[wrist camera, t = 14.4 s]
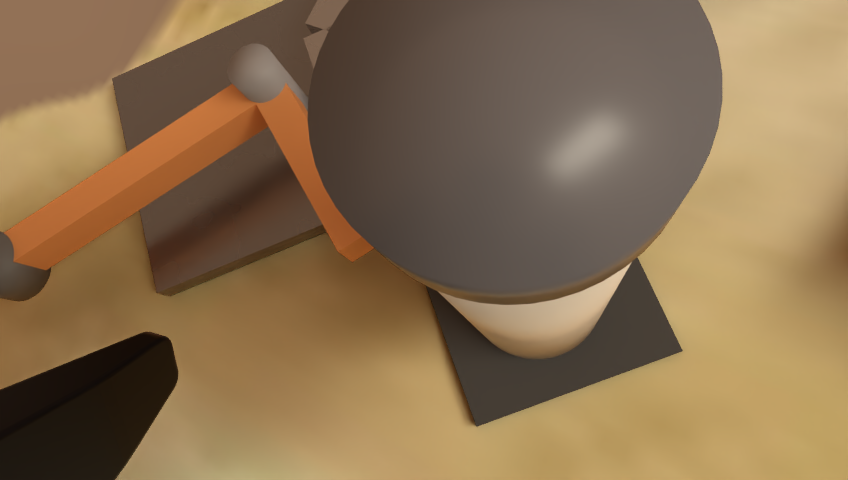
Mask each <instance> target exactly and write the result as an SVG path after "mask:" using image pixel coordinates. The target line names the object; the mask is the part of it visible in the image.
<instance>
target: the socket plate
mask: <svg viewBox="0 0 848 480" xmlns="http://www.w3.org/2000/svg"><path fill="white" fill-rule="evenodd" d="M348 1H349V0H284V1H282V2H279V3H277V4H275V5H273V6H271V7H268V8H266V9H264V10H262V11H260V12H257V13H255V14H253V15H251V16H249V17H246V18H244V19H242V20H240V21H238V22H235V23H233V24H231V25H229V26H227V27H224V28H222V29H220V30H218V31H216V32H214V33H211V34H209V35H207V36H205V37H203V38H200V39H198V40H196V41H194V42H192V43H189V44H187V45H185V46H183V47H181V48H178V49H176V50H174V51H172V52H170V53H167V54H165V55H163V56H161V57H159V58H156V59H154V60H152V61H150V62H148V63H145V64H143V65H141V66H139V67H137V68H134V69H132V70H130V71H128V72H126V73H123V74H121V75H119V76H117V77H115V78H112V80H113V85H114V90H115V95H116V99H117V104H118V109H119V114H120V119H121V123H122V128H123V133H124V138H125V143H126V147H127V152H128V151H130V150H132V149H133V148H135V147H136V146H138V145H139V144H141V143H142V142H144V141H145V140H147V139H148V138H150V137H151V136H153V135H155V134H156V133H158V132H159V131H161V130H162V129H164V128H165V127H167V126H168V125H170V124H171V123H173V122H174V121H176V120H178V119H179V118H181V117H182V116H184V115H185V114H187V113H188V112H190V111H191V110H193V109H194V108H196V107H197V106H199V105H201V104H202V103H204V102H205V101H207V100H208V99H210V98H211V97H213V96H214V95H216V94H217V93H219V92H220V91H222V90H224V89H225V88H227V87H228V86H230V85H231V84H232V83H231V81H230V80H229V78H228V74H227V67H228V63H229V61H230V59H231V57H232V56H233V54H234V53H235V52H236V51H237V50H239V49H240V48H242V47H243V46H246V45H249V44H261V45H264V46H266V47H267V48H268V49H269V50H270V51H271V52H272V53H273V55H274V56H275V57H276V58H277V60H278V61H279V62H280V63H281V65H282V66H283V67H284V68H285V70H286V71H287V72H288V73H289V75H290V76H291V77H292V78H293V80H294V81H295V82H296V83H297V84H298V86H299V87H300V88H301V89H302V91H303V92H304V93H305V94H306V96H307V97H308V96H309V90H310V84H311V79H312V73H313V70H314V67H315V64H316V60H317V57H318V54H319V51H320V49H321V47H322V44H323V42H324V40H325V38H326V36H327V33H328V31H329V29H330V28H331V26H332V24H333V23H334V21H335V19H336V18H337V16H338V15H339V13H340V11H341V10H342V9H343V7H344V6H345V5H346V3H347V2H348ZM140 215H141V219H142V224H143V229H144V234H145V239H146V243H147V248H148V253H149V258H150V263H151V267H152V272H153V277H154V282H155V287H156V291H157V293H159V294H163V295H166V296H172V295H174V294H176V293H179V292H181V291H184V290H186V289H189V288H191V287H193V286H196V285H198V284H201V283H203V282H206V281H208V280H210V279H213V278H215V277H218V276H220V275H223V274H225V273H228V272H230V271H232V270H235V269H237V268H240V267H242V266H245V265H247V264H249V263H252V262H254V261H257V260H259V259H262V258H264V257H266V256H269V255H271V254H274V253H276V252H279V251H281V250H283V249H286V248H288V247H291V246H293V245H296V244H298V243H300V242H303V241H305V240H308V239H310V238H313V237H315V236H318V235H320V234H322V233H325V232H327V231H326V229H325V228H324V226H323V224H322V222H321V220H320V219H319V217H318V215H317V213H316V211H315V210H314V208H313V206H312V204H311V202H310V200H309V199H308V197H307V195H306V193H305V191H304V190H303V188H302V186H301V184H300V182H299V181H298V179H297V177H296V175H295V173H294V172H293V170H292V168H291V166H290V164H289V163H288V161H287V159H286V157H285V155H284V154H283V152H282V150H281V148H280V146H279V144H278V143H277V141H276V139H275V137H274V135H273V134H272V132H271V130H270V128H269V126H268V127H267V128H265V129H264V130H262V131H261V132H259V133H258V134H256V135H254V136H253V137H251V138H250V139H248V140H247V141H245V142H244V143H242V144H241V145H239V146H237V147H236V148H234V149H233V150H231V151H230V152H228V153H227V154H225V155H224V156H222V157H220V158H219V159H217V160H216V161H214V162H213V163H211V164H210V165H208V166H207V167H205V168H203V169H202V170H200V171H199V172H197V173H196V174H194V175H193V176H191V177H190V178H188V179H186V180H185V181H183V182H182V183H180V184H179V185H177V186H176V187H174V188H173V189H171V190H169V191H168V192H166V193H165V194H163V195H162V196H160V197H159V198H157V199H156V200H154V201H152V202H151V203H149V204H148V205H146V206H145V207H143V208H142V209H140Z"/></svg>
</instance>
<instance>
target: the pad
mask: <svg viewBox="0 0 848 480" xmlns="http://www.w3.org/2000/svg"><path fill="white" fill-rule="evenodd" d="M426 287H427V290H428V293H429V295H430V298H431V301H432V304H433V307H434V309H435V312H436V315H437V318H438V320H439V323H440V326H441V329H442V332H443V334H444V337H445V340H446V343H447V346H448V348H449V351H450V354H451V357H452V359H453V362H454V365H455V368H456V371H457V373H458V376H459V379H460V382H461V385H462V387H463V390H464V393H465V396H466V399H467V401H468V404H469V407H470V410H471V412H472V415H473V418H474V421H475V424H476V426H480V425H482V424H485V423H488V422H491V421H493V420H496V419H499V418H502V417H504V416H507V415H510V414H512V413H515V412H518V411H521V410H523V409H526V408H529V407H531V406H534V405H537V404H540V403H542V402H545V401H548V400H551V399H553V398H556V397H559V396H561V395H564V394H567V393H570V392H572V391H575V390H578V389H581V388H583V387H586V386H589V385H591V384H594V383H597V382H600V381H602V380H605V379H608V378H610V377H613V376H616V375H619V374H621V373H624V372H627V371H630V370H632V369H635V368H638V367H640V366H643V365H646V364H649V363H651V362H654V361H657V360H660V359H662V358H665V357H668V356H670V355H673V354H676V353H679V352H681V351H682V349H681V347H680V345H679V343H678V340H677V338H676V336H675V334H674V332H673V330H672V328H671V326H670V324H669V322H668V320H667V318H666V316H665V314H664V312H663V309H662V307H661V305H660V303H659V301H658V299H657V297H656V295H655V293H654V291H653V289H652V287H651V285H650V283H649V280H648V278H647V276H646V274H645V272H644V270H643V268H642V266H641V264H640V262H639V260H638V258H636V259H634V260H633V261H632V263H631V264H630V266H629V268H628V270H627V271H626V273H625V275H624V276H623V278H622V280H621V282H620V283H619V285H618V287H617V289H616V290H615V292H614V294H613V296H612V297H611V299H610V301H609V302H608V304H607V306H606V308H605V309H604V311H603V313H602V315H601V316H600V318H599V320H598V322H597V323H596V325H595V327H594V328H593V330H592V331H591V333H590V334H589V335H588V336H587V337H586V339H585V340H584V341H583V342H581V343H580V344H579V345H578V346H577V347H575V348H574V349H572V350H570V351H569V352H567V353H564V354H562V355H560V356H556V357H553V358H548V359H525V358H521V357H516V356H514V355H511V354H508V353H506V352H504V351H503V350H501V349H499V348H498V347H496V346H495V345H494V344H492V343H491V342H490V341H489V340H488V339H487V338H486V337H485V336H484V335H483V334H482V333H481V332H480V331H479V330H478V329H476V328H475V327H474V326H473V325H472V324H471V323H470V322H469V321H468V320H467V319H466V318H465V317H464V316H463V315H462V314H461V313H460V312H459V311H458V310H457V309H456V308H455V307H453V306H452V305H451V304H450V303H449V302H448V301H447V300H446V299H445V298H444V297H443V296H442V295H441V294H440V293H439V292H438V291H436V290H434V289H432V288H430V287H428V286H426Z"/></svg>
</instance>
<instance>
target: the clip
mask: <svg viewBox="0 0 848 480" xmlns="http://www.w3.org/2000/svg"><path fill="white" fill-rule="evenodd" d="M227 74H228V78H229V80H230V81H231V83H232V84H231V85H230V86H228V87H227V88H225V89H224V90H222V91H220V92H219V93H217V94H216V95H214V96H213V97H211V98H210V99H208V100H207V101H205V102H204V103H202V104H201V105H199V106H197V107H196V108H194V109H193V110H191V111H190V112H188V113H187V114H185V115H184V116H182V117H181V118H179V119H178V120H176V121H174V122H173V123H171V124H170V125H168V126H167V127H165V128H164V129H162V130H161V131H159V132H158V133H156V134H155V135H153V136H151V137H150V138H148V139H147V140H145V141H144V142H142V143H141V144H139V145H138V146H136V147H135V148H133V149H132V150H130V151H128V152H127V153H125V154H124V155H122V156H121V157H119V158H118V159H116V160H115V161H113V162H112V163H110V164H109V165H107V166H105V167H104V168H102V169H101V170H99V171H98V172H96V173H95V174H93V175H92V176H90V177H89V178H87V179H86V180H84V181H82V182H81V183H79V184H78V185H76V186H75V187H73V188H72V189H70V190H69V191H67V192H66V193H64V194H62V195H61V196H59V197H58V198H56V199H55V200H53V201H52V202H50V203H49V204H47V205H46V206H44V207H43V208H41V209H39V210H38V211H36V212H35V213H33V214H32V215H30V216H29V217H27V218H26V219H24V220H23V221H21V222H20V223H18V224H16V225H15V226H13V227H12V228H10V229H9V230H7V231H6V232H4V233H3V232H0V298H3V299H8V300H14V301H24V300H28V299H30V298H32V297H34V296H35V295H36V294H38V293H39V292H40V291H41V290H42V288H43V287H44V286H45V284H46V282H47V280H48V278H49V275H50V272H51V267H52V266H54V265H55V264H57V263H58V262H60V261H61V260H63V259H64V258H66V257H67V256H69V255H71V254H72V253H74V252H75V251H77V250H78V249H80V248H81V247H83V246H84V245H86V244H88V243H89V242H91V241H92V240H94V239H95V238H97V237H98V236H100V235H101V234H103V233H105V232H106V231H108V230H109V229H111V228H112V227H114V226H115V225H117V224H118V223H120V222H122V221H123V220H125V219H126V218H128V217H129V216H131V215H132V214H134V213H135V212H137V211H139V210H140V209H142V208H143V207H145V206H146V205H148V204H149V203H151V202H152V201H154V200H156V199H157V198H159V197H160V196H162V195H163V194H165V193H166V192H168V191H169V190H171V189H173V188H174V187H176V186H177V185H179V184H180V183H182V182H183V181H185V180H186V179H188V178H190V177H191V176H193V175H194V174H196V173H197V172H199V171H200V170H202V169H203V168H205V167H207V166H208V165H210V164H211V163H213V162H214V161H216V160H217V159H219V158H220V157H222V156H224V155H225V154H227V153H228V152H230V151H231V150H233V149H234V148H236V147H237V146H239V145H241V144H242V143H244V142H245V141H247V140H248V139H250V138H251V137H253V136H254V135H256V134H258V133H259V132H261V131H262V130H264V129H265V128H267V127H268V126H269V128H270V130H271V132H272V134H273V135H274V137H275V139H276V141H277V143H278V144H279V146H280V148H281V150H282V152H283V154H284V155H285V157H286V159H287V161H288V163H289V164H290V166H291V168H292V170H293V172H294V173H295V175H296V177H297V179H298V181H299V182H300V184H301V186H302V188H303V190H304V191H305V193H306V195H307V197H308V199H309V200H310V202H311V204H312V206H313V208H314V210H315V211H316V213H317V215H318V217H319V219H320V220H321V222H322V224H323V226H324V228H325V229H326V231H327V233H328V235H329V237H330V238H331V240H332V242H333V244H334V246H335V247H336V249H337V251H338V252H339V253H340V254H342V255H343V256H345V257H346V258H347V259H349V260H350V261H352V262H354V261H355V260H357V259H358V258H360V257H362V256H363V255H365V254H366V253H368V252H369V251H371V250H373V249H374V247H373V246H371V245H370V244H369V243H368V242H367V241H366V240H365V239H364V238H363V237H362V236H361V235H360V234H359V233H357V232H356V231H355V230H354V229H353V228H352V227H351V226H350V224H349V223H348V222H347V221H346V219H345V218H344V217H343V216H342V214H341V213H340V212H339V211H338V209H337V208H336V207H335V205H334V203H333V201H332V200H331V198H330V196H329V194H328V193H327V191H326V189H325V188H324V186H323V183H322V181H321V178H320V176H319V173H318V171H317V168H316V166H315V162H314V158H313V154H312V150H311V145H310V140H309V130H308V120H307V119H308V97H307V96H306V94H305V93H304V92H303V91H302V89H301V88H300V87H299V86H298V84H297V83H296V82H295V81H294V80H293V78H292V77H291V76H290V75H289V73H288V72H287V71H286V70H285V68H284V67H283V66H282V65H281V63H280V62H279V61H278V60H277V58H276V57H275V56H274V55H273V53H272V52H271V51H270V50H269V49H268V48H267V47H266V46H264V45H261V44H249V45H246V46H243V47H242V48H240V49H239V50H237V51H236V52H235V53H234V54H233V56H232V57H231V59H230V61H229V63H228V67H227Z"/></svg>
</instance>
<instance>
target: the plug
mask: <svg viewBox="0 0 848 480" xmlns="http://www.w3.org/2000/svg"><path fill="white" fill-rule="evenodd" d="M721 105H722V69H721V63H720V57H719V51H718V46H717V43H716V40H715V37H714V34H713V31H712V28H711V25H710V23H709V21H708V19H707V17H706V15H705V13H704V11H703V9H702V7H701V5H700V3H699V1H698V0H349V1H348V2H347V3H346V5H345V6H344V7H343V9H342V10H341V11H340V13H339V15H338V16H337V18H336V19H335V21H334V23H333V24H332V26H331V28H330V29H329V31H328V33H327V36H326V38H325V40H324V42H323V44H322V47H321V49H320V51H319V54H318V57H317V60H316V64H315V67H314V70H313V73H312V79H311V84H310V90H309V96H308V119H307V120H308V130H309V140H310V145H311V150H312V154H313V158H314V162H315V166H316V168H317V171H318V173H319V176H320V178H321V181H322V183H323V186H324V188H325V189H326V191H327V193H328V194H329V196H330V198H331V200H332V201H333V203H334V205H335V207H336V208H337V209H338V211H339V212H340V213H341V214H342V216H343V217H344V218H345V219H346V221H347V222H348V223H349V224H350V226H351V227H352V228H353V229H354V230H355V231H356V232H357V233H359V234H360V235H361V236H362V237H363V238H364V239H365V240H366V241H367V242H368V243H369V244H370V245H371V246H373V247H374V248H375V249H376V250H377V251H378V252H380V253H381V254H382V255H383V256H384V257H385V258H387V259H388V260H389V261H390V262H391V263H392V264H394V265H395V266H396V267H397V268H399V269H400V270H402V271H403V272H404V273H406V274H407V275H409V276H410V277H411V278H413V279H415V280H416V281H418V282H420V283H422V284H424V285H426V286H428V287H430V288H432V289H434V290H436V291H438V292H439V293H440V294H441V295H442V296H443V297H444V298H445V299H446V300H447V301H448V302H449V303H450V304H451V305H452V306H453V307H455V308H456V309H457V310H458V311H459V312H460V313H461V314H462V315H463V316H464V317H465V318H466V319H467V320H468V321H469V322H470V323H471V324H472V325H473V326H474V327H475V328H476V329H478V330H479V331H480V332H481V333H482V334H483V335H484V336H485V337H486V338H487V339H488V340H489V341H490V342H491V343H492V344H494V345H495V346H496V347H498V348H499V349H501V350H503V351H504V352H506V353H508V354H511V355H514V356H516V357H521V358H525V359H548V358H553V357H556V356H560V355H562V354H564V353H567V352H569V351H570V350H572V349H574V348H575V347H577V346H578V345H579V344H580V343H581V342H583V341H584V340H585V339H586V337H587V336H588V335H589V334H590V333H591V331H592V330H593V328H594V327H595V325H596V323H597V322H598V320H599V318H600V316H601V315H602V313H603V311H604V309H605V308H606V306H607V304H608V302H609V301H610V299H611V297H612V296H613V294H614V292H615V290H616V289H617V287H618V285H619V283H620V282H621V280H622V278H623V276H624V275H625V273H626V271H627V270H628V268H629V266H630V264H631V263H632V261H633V260H634V259H636V258H637V257H638V256H639V255H640V254H642V253H643V252H644V251H645V250H646V249H647V248H648V247H649V246H650V244H651V243H652V242H653V241H654V240H655V239H656V238H657V237H658V236H659V235H660V234H661V232H662V231H663V229H664V228H665V226H666V225H667V224H668V222H669V221H670V219H671V218H672V216H673V215H674V213H675V212H676V210H677V209H678V207H679V206H680V204H681V203H682V201H683V200H684V198H685V197H686V195H687V194H688V192H689V190H690V189H691V187H692V186H693V184H694V183H695V181H696V180H697V178H698V176H699V174H700V172H701V170H702V168H703V166H704V164H705V162H706V160H707V158H708V156H709V154H710V151H711V148H712V145H713V141H714V138H715V135H716V132H717V129H718V124H719V118H720V111H721Z"/></svg>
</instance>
